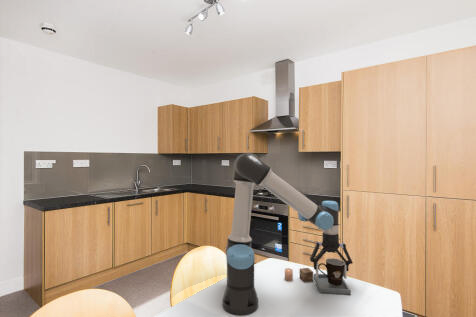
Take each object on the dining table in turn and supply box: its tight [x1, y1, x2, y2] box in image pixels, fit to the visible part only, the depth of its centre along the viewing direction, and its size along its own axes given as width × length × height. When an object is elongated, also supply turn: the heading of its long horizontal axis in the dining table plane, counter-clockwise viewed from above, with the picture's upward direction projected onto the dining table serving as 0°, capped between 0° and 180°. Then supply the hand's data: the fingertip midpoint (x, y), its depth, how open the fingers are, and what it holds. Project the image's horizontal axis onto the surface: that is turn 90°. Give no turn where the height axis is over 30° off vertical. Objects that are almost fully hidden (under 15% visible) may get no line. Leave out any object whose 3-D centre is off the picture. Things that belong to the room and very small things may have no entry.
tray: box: [313, 273, 352, 296], centre depth 120 cm, size 14×16×2 cm
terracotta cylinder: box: [284, 267, 294, 282], centre depth 127 cm, size 4×4×5 cm
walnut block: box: [299, 267, 314, 284], centre depth 127 cm, size 5×5×5 cm
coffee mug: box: [318, 257, 345, 286], centre depth 120 cm, size 12×9×10 cm
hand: (330, 276), depth 121 cm, fingers closed on coffee mug, 12 cm apart
